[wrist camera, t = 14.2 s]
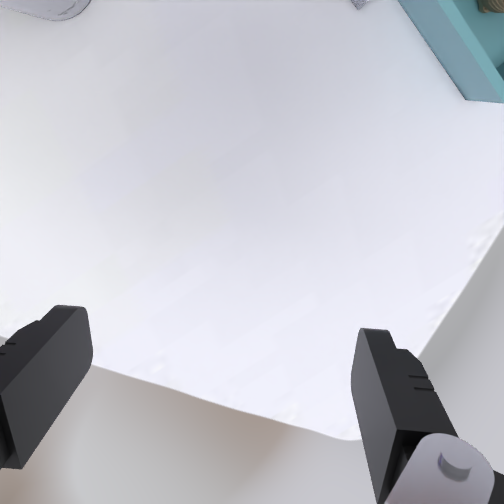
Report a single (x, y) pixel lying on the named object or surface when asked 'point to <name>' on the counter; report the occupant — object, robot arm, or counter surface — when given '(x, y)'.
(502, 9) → the handle
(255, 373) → the counter surface
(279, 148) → the counter surface
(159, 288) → the counter surface
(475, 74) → the bin
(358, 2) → the socket block
